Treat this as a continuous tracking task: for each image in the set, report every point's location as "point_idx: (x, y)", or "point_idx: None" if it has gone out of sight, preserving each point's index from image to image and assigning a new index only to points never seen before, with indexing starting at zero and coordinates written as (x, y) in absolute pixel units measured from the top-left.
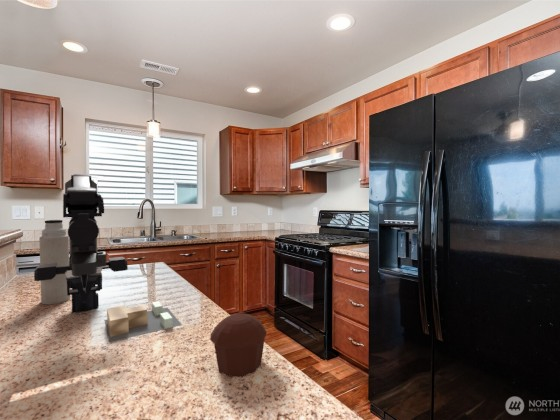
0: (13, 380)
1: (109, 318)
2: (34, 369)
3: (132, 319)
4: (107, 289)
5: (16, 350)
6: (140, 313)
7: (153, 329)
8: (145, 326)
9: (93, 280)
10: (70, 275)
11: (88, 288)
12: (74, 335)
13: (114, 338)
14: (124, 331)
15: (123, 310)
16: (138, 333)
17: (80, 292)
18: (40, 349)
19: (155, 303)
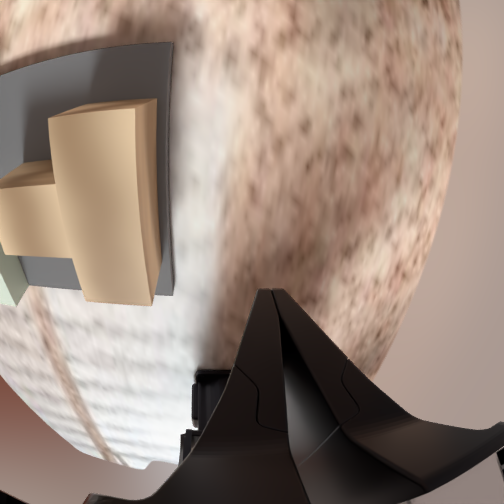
0: (449, 30)
1: (136, 159)
2: (413, 45)
3: (52, 170)
4: (177, 441)
5: (419, 226)
6: (14, 182)
7: (10, 92)
8: (29, 139)
9: (211, 457)
10: (486, 483)
11: (261, 374)
12: (277, 236)
13: (144, 69)
14: (97, 103)
15: (74, 239)
16: (56, 76)
17: (325, 347)
18: (381, 187)
19: (2, 288)
